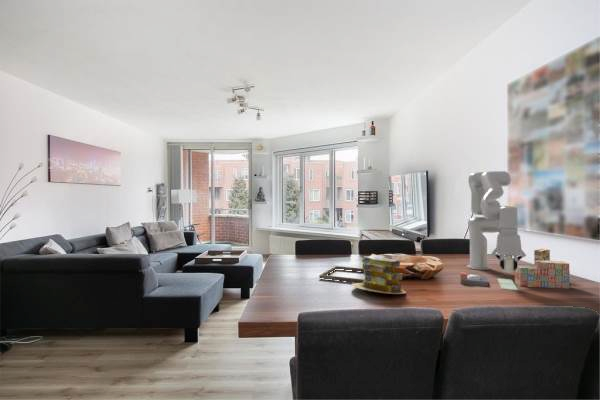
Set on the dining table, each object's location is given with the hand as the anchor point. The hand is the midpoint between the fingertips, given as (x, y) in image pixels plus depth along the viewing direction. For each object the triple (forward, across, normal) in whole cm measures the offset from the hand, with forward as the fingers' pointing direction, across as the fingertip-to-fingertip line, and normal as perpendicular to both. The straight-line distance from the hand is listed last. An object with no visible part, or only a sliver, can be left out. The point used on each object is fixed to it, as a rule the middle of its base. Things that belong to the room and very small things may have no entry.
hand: (508, 268), depth 161 cm
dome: (+8, -15, +4) cm, 18 cm away
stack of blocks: (+10, +15, +10) cm, 21 cm away
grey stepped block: (+9, -15, +4) cm, 18 cm away
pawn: (+2, 0, 0) cm, 2 cm away
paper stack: (+10, -56, -34) cm, 66 cm away
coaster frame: (+9, -77, -11) cm, 78 cm away
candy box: (+9, +19, +30) cm, 37 cm away
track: (+9, 0, +6) cm, 11 cm away
